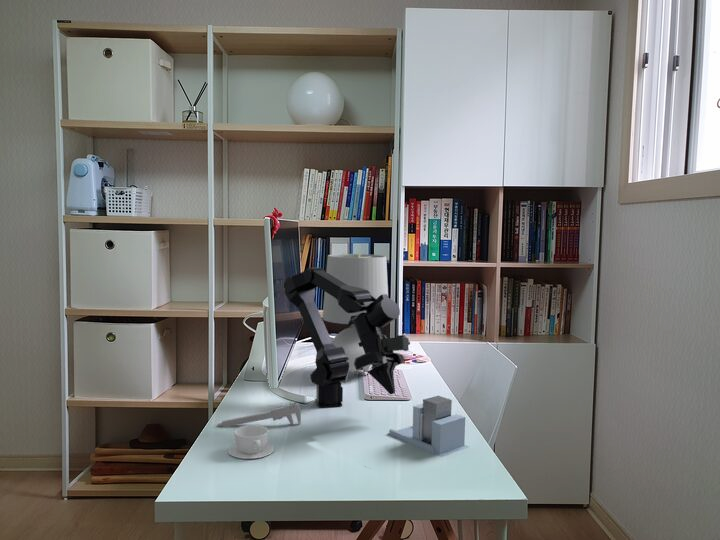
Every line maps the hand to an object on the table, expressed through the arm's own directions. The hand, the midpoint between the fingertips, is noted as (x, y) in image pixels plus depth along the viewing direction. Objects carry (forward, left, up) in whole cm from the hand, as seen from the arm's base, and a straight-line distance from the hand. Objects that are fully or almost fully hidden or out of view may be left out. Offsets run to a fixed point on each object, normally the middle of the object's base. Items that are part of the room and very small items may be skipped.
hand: (392, 393), depth 144 cm
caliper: (-32, +9, -9) cm, 34 cm away
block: (+5, -15, -7) cm, 17 cm away
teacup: (-35, -7, -9) cm, 37 cm away
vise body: (+5, -13, -9) cm, 16 cm away
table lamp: (+2, +48, -9) cm, 48 cm away
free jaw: (+4, -12, -7) cm, 15 cm away
